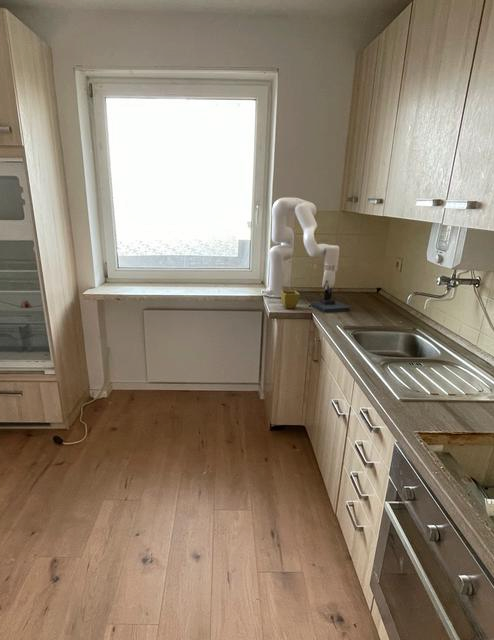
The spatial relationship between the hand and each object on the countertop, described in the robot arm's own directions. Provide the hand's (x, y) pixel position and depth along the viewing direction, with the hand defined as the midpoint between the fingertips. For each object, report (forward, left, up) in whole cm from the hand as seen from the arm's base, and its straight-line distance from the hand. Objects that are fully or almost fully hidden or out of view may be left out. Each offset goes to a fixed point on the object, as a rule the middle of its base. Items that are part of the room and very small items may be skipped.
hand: (327, 298), depth 245 cm
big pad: (0, -4, -4) cm, 6 cm away
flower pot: (-23, +3, -5) cm, 24 cm away
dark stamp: (0, 0, -3) cm, 3 cm away
